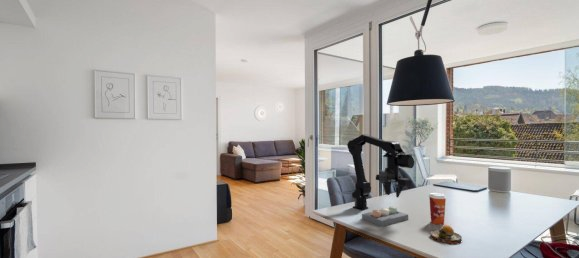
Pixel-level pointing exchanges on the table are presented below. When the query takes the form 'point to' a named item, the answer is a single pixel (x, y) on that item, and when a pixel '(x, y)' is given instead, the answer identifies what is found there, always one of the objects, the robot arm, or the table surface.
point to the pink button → (376, 214)
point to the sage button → (393, 210)
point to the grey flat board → (385, 218)
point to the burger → (446, 235)
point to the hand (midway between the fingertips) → (392, 196)
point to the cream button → (384, 211)
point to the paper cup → (437, 208)
